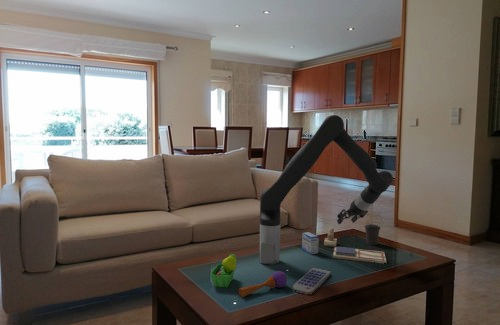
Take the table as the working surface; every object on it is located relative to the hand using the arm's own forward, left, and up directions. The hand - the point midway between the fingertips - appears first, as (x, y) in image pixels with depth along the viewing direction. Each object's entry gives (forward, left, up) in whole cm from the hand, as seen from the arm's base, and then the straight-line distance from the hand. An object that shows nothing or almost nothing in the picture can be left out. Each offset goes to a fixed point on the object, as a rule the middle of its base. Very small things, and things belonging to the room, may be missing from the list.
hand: (345, 221), depth 174 cm
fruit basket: (-52, +43, -15) cm, 70 cm away
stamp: (+9, +7, -15) cm, 19 cm away
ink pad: (-4, -1, -14) cm, 15 cm away
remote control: (-41, +11, -16) cm, 45 cm away
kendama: (-55, +27, -15) cm, 63 cm away
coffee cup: (+18, -14, -15) cm, 27 cm away
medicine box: (-5, +16, -15) cm, 23 cm away
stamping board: (-4, -7, -15) cm, 17 cm away
